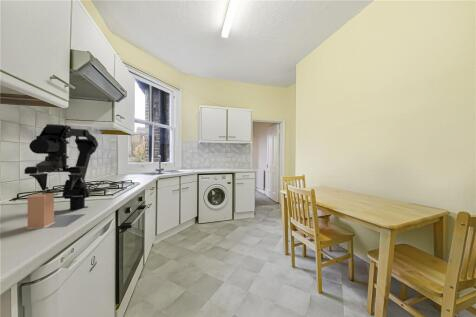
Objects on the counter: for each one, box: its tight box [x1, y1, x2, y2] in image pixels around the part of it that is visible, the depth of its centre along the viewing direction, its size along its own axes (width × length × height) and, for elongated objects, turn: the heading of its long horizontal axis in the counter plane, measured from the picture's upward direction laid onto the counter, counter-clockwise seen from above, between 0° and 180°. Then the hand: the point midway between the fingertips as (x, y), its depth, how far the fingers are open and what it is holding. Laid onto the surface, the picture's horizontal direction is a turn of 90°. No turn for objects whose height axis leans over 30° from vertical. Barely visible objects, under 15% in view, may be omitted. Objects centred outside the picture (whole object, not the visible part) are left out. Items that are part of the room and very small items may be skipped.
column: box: [26, 192, 55, 229], centre depth 70 cm, size 5×5×12 cm
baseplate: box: [24, 213, 86, 231], centre depth 75 cm, size 15×12×1 cm
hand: (57, 189), depth 77 cm, fingers open, 9 cm apart
